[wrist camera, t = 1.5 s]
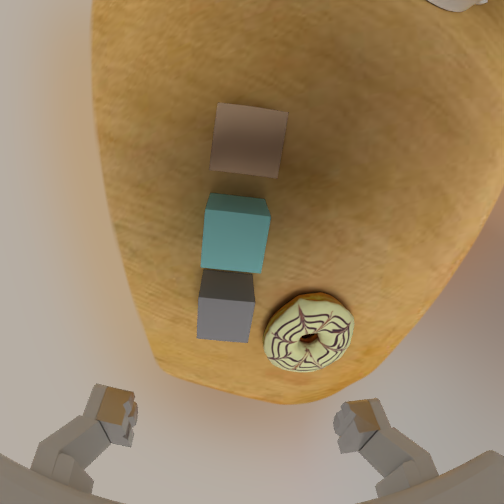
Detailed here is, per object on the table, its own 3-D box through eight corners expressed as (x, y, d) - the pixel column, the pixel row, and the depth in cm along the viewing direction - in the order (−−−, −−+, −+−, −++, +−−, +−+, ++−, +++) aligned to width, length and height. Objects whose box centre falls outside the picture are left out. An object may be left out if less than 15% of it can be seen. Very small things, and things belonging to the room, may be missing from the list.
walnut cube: (221, 105, 23) (217, 102, 18) (278, 113, 23) (288, 112, 19) (214, 160, 25) (209, 170, 20) (269, 167, 25) (277, 178, 21)
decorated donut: (363, 300, 33) (374, 320, 29) (320, 361, 37) (327, 381, 34) (286, 277, 31) (293, 297, 27) (249, 346, 35) (251, 369, 31)
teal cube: (210, 192, 26) (205, 209, 22) (264, 198, 27) (270, 216, 22) (205, 242, 28) (200, 267, 24) (256, 247, 29) (260, 273, 24)
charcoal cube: (203, 268, 29) (198, 297, 25) (252, 273, 30) (255, 302, 25) (201, 307, 32) (196, 338, 27) (245, 312, 32) (247, 342, 28)
